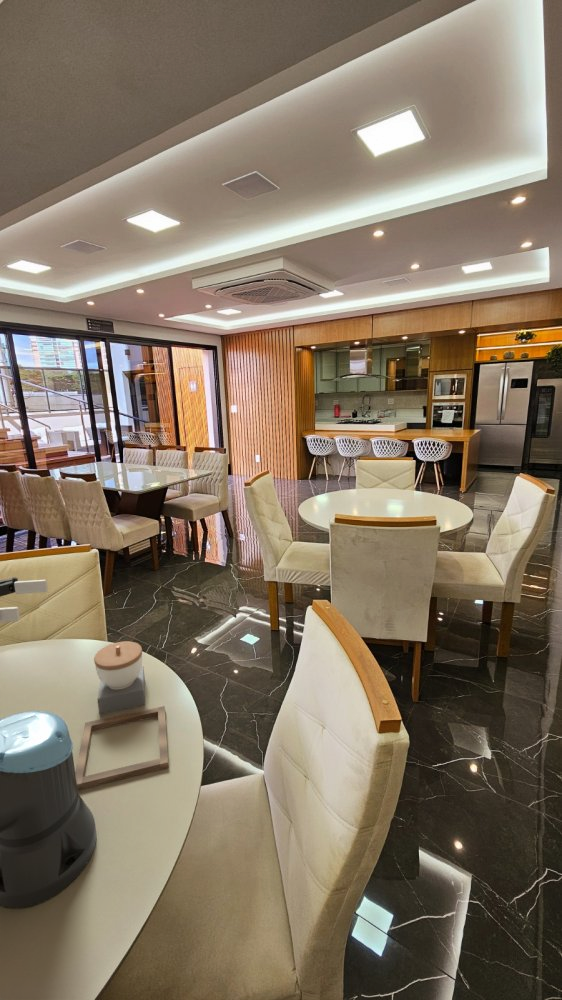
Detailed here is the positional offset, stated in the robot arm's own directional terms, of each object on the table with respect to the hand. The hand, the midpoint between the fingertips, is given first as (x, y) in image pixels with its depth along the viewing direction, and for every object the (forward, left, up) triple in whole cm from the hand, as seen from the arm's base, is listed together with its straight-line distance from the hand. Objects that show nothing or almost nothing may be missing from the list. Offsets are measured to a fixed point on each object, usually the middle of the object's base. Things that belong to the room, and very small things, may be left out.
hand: (33, 598), depth 91 cm
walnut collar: (-12, -16, -30) cm, 36 cm away
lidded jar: (+5, -15, -26) cm, 30 cm away
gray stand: (+5, -15, -30) cm, 34 cm away
